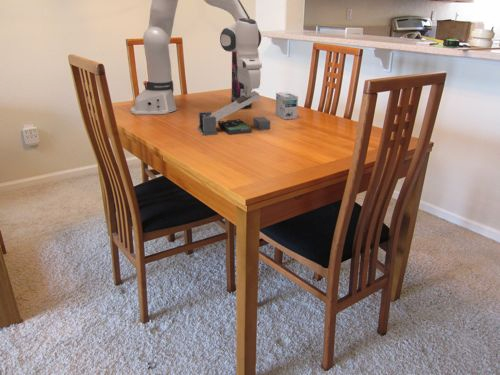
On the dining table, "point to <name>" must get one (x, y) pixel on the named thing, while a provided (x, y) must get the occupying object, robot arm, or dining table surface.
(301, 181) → the dining table surface
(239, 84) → the graphics card box
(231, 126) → the disk drive
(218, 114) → the bar
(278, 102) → the light bulb box
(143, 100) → the robot arm
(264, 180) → the dining table surface
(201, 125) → the strap bracket
